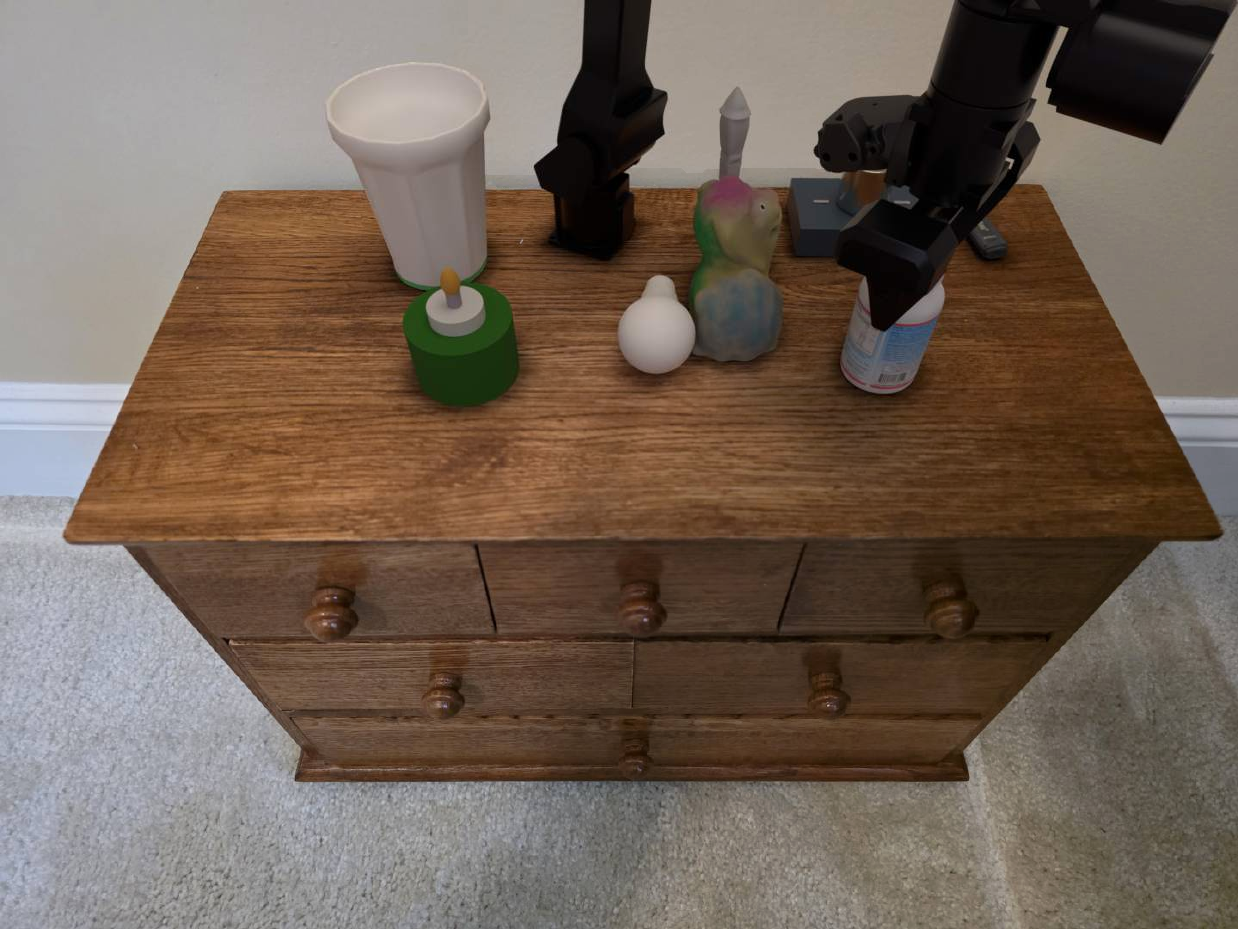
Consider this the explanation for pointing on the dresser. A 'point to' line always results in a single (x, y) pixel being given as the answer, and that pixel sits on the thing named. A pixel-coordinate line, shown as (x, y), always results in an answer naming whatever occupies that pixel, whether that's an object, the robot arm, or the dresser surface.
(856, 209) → the dial knob
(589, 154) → the robot arm
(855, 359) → the pill bottle
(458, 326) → the candle
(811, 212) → the dial base
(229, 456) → the dresser surface
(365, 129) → the cup
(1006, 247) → the usb stick
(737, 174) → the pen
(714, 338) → the sculpture
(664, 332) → the lightbulb
